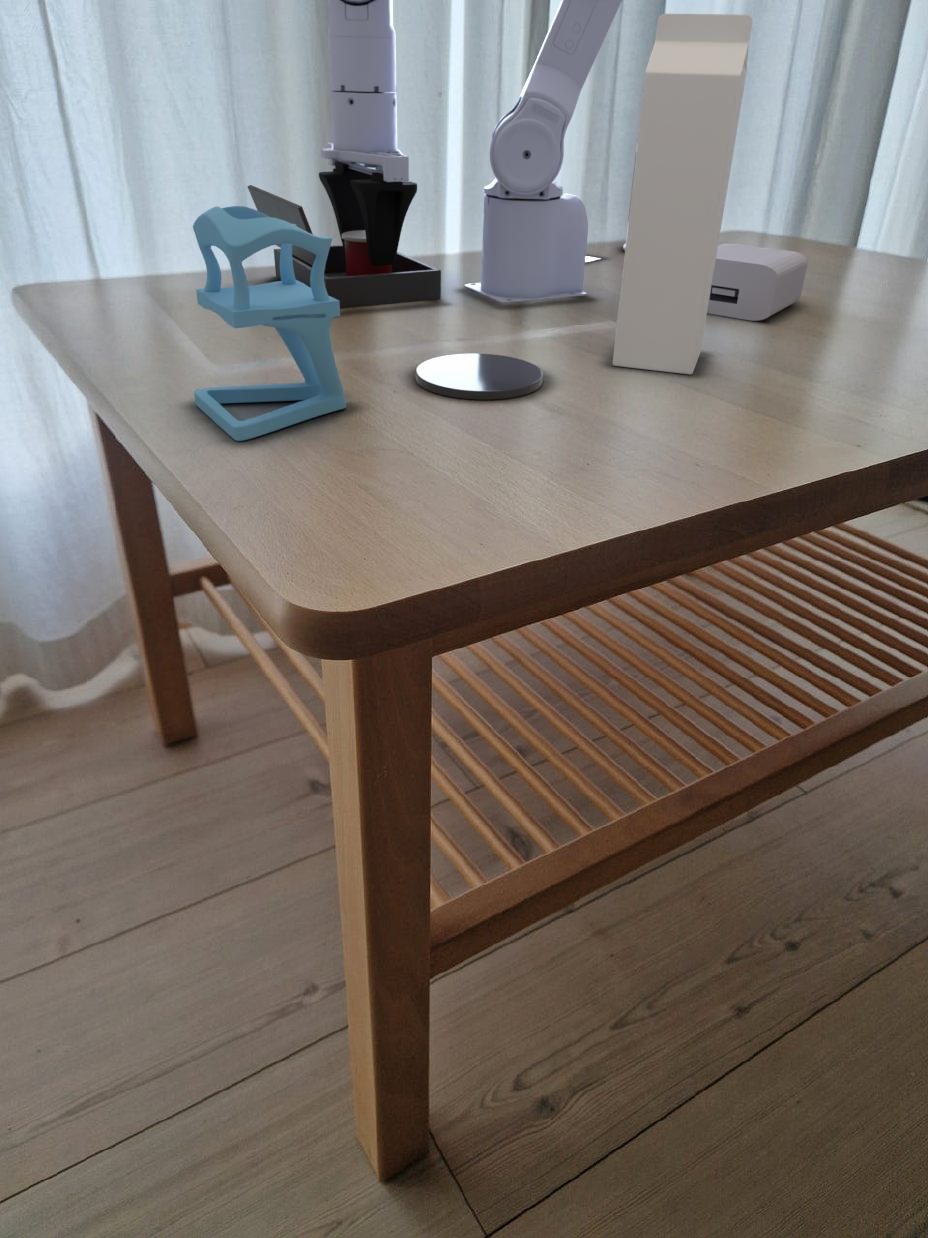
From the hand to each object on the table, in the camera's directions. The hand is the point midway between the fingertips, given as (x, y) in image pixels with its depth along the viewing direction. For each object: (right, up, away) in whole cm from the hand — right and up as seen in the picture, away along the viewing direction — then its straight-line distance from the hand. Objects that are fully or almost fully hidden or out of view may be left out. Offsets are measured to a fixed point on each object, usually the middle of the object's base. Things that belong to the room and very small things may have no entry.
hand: (368, 257), depth 85 cm
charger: (+37, -4, +2) cm, 37 cm away
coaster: (+10, -17, -21) cm, 29 cm away
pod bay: (-1, -3, +1) cm, 3 cm away
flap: (-7, +1, -5) cm, 8 cm away
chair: (-3, -21, -28) cm, 35 cm away
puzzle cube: (+20, +7, +18) cm, 28 cm away
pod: (0, -2, +1) cm, 2 cm away
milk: (+24, -15, -16) cm, 32 cm away
